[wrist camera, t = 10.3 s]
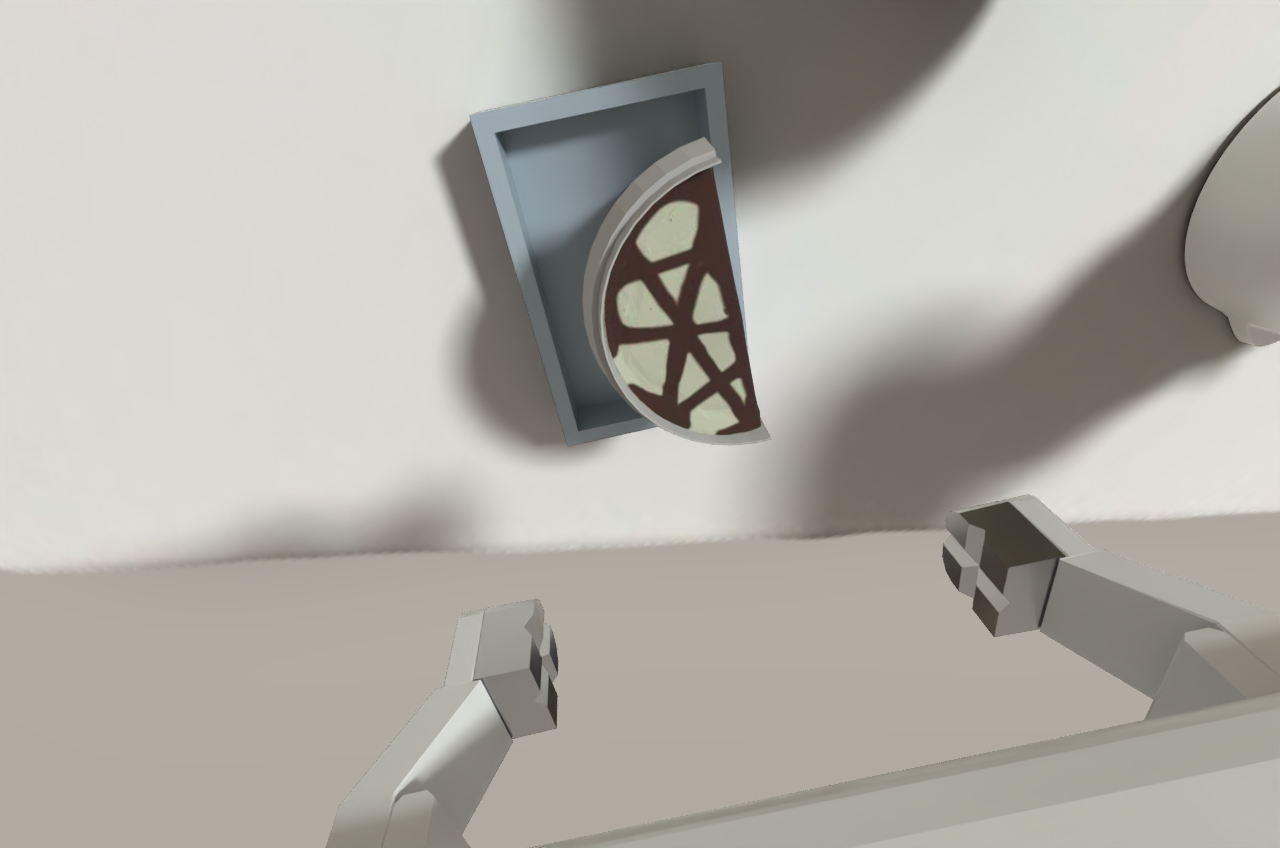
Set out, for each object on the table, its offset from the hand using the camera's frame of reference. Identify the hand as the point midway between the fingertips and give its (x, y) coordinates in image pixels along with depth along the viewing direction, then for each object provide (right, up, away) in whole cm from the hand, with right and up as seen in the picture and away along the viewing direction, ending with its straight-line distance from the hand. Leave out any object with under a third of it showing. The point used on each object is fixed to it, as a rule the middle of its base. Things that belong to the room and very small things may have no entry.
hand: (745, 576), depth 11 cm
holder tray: (-3, +11, +19) cm, 23 cm away
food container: (-2, +11, +19) cm, 22 cm away
